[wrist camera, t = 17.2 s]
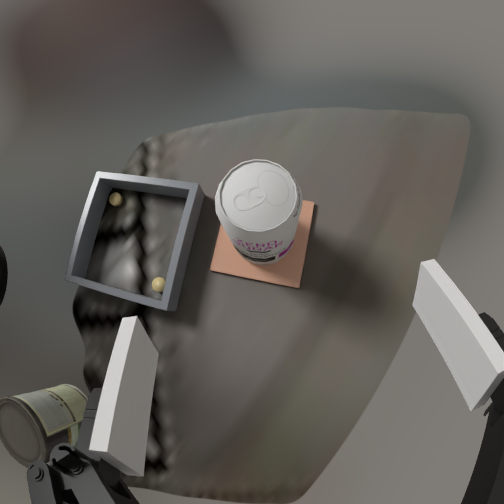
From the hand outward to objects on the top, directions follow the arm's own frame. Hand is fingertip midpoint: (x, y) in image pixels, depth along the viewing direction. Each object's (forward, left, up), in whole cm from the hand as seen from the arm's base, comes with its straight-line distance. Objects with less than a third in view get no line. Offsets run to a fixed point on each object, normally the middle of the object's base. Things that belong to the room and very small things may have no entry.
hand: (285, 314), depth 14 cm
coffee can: (-28, -24, -28) cm, 46 cm away
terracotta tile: (-4, +10, -28) cm, 30 cm away
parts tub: (-22, +6, -28) cm, 36 cm away
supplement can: (-4, +10, -27) cm, 29 cm away
